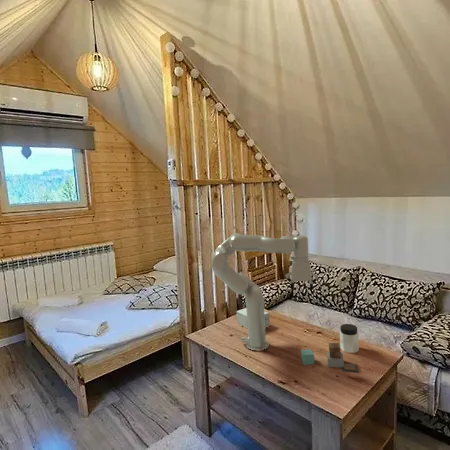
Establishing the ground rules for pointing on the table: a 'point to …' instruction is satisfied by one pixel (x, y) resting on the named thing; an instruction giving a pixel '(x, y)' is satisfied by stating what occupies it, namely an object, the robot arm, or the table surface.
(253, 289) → the robot arm
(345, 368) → the swatch
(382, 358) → the table surface
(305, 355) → the teal cube
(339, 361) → the grey base block
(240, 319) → the supplement box
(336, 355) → the walnut cube
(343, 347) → the jar
